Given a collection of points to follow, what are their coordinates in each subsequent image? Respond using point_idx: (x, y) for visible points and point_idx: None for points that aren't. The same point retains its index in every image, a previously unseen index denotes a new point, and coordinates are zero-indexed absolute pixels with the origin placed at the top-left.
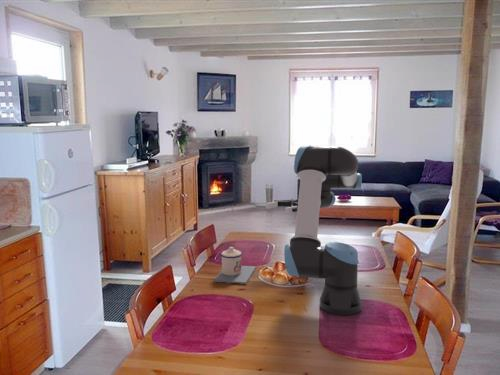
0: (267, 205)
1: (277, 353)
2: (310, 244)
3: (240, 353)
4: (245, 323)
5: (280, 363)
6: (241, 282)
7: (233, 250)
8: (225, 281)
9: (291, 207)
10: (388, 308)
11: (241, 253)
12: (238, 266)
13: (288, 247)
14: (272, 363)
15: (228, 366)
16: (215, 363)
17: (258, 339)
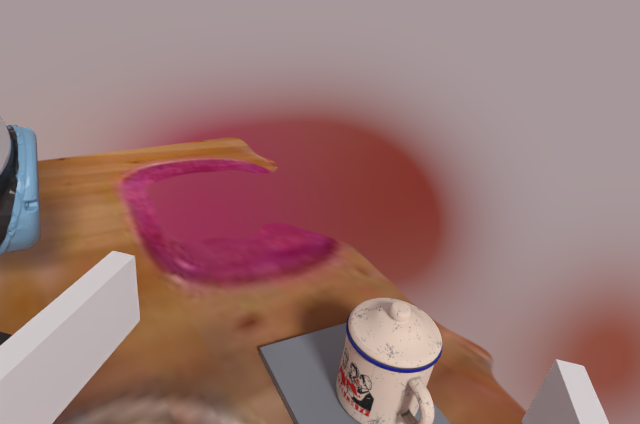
0: (543, 390)
1: (40, 180)
2: None
3: (107, 170)
4: (139, 216)
5: None
6: (276, 343)
7: (382, 313)
8: (329, 329)
9: (44, 313)
10: None
11: (367, 358)
12: (341, 361)
13: (14, 125)
14: (44, 167)
15: (112, 155)
16: (134, 155)
17: (89, 194)
